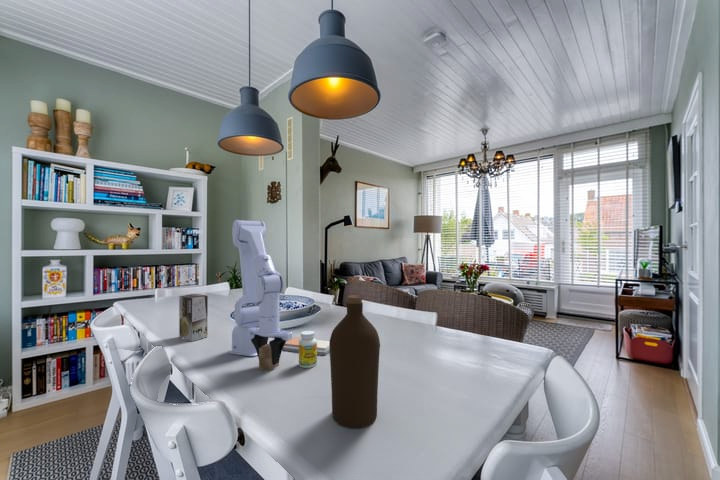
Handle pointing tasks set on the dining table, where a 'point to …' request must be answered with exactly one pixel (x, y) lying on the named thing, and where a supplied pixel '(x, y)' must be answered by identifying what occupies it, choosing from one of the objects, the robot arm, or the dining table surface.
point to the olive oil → (354, 368)
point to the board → (294, 346)
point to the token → (266, 358)
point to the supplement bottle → (307, 350)
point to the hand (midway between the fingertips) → (269, 362)
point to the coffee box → (193, 316)
